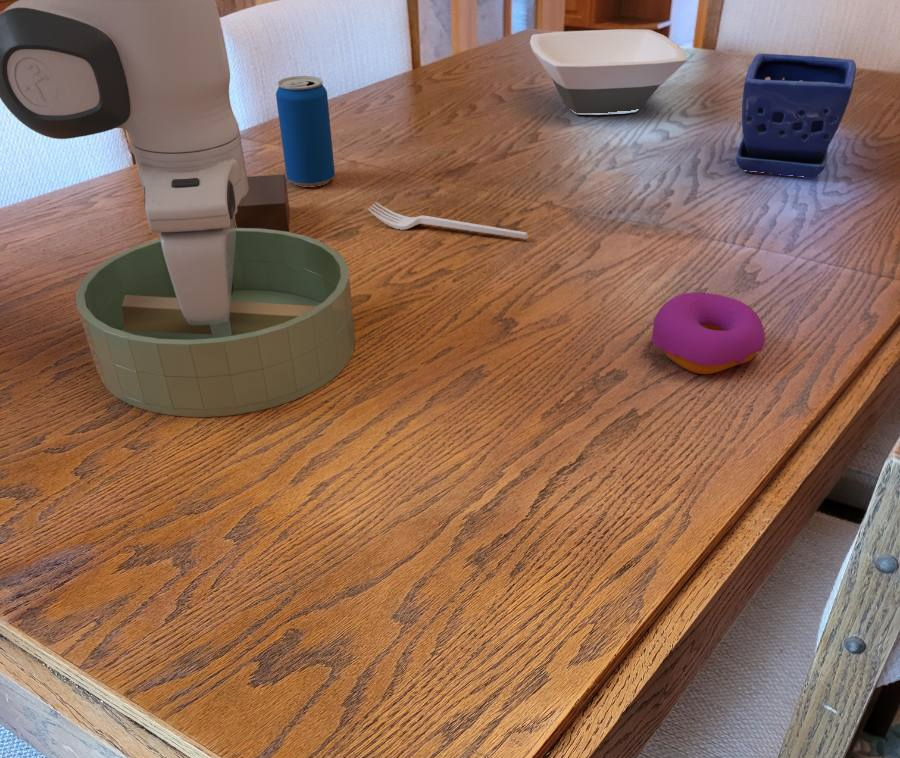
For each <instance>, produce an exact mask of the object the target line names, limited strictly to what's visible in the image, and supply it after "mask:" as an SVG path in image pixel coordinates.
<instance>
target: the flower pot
mask: <svg viewBox="0 0 900 758" xmlns="http://www.w3.org/2000/svg"><path fill="white" fill-rule="evenodd" d="M856 73H857V64H856V62H855V60H853V59H849V58H840V57H829V56H828V57H826V56H816V55H815V56H814V55H797V54H796V55H795V54H775V53H757V54H756V55H755V56H754V58H753V59H752V61H751V63H750V65H749V66H748V70H747V73H746V76H745V80H744V84H743V91H742V102H741V129H742V138H741V141H740V144H739V146H738V149H737V151H736V156H735V162H736V164H737V166H738V167H739V169H740V170H741V169H742V170H741V171H743V170H747V171H757V172H764V173H772V174H779V175H778V176H781V175H793V176H804V177H813V178H815V177H816V176H818V175H819V174H821V173H822V172H823V171H824V169H825V168H826V164H827V159H828V153H829V152H828V151H829V145H830V144H831V142H832V140H833V138H834V137H835V135H836V133H837V131H838V130H839V127H840V125H841V122H842V120H843V117H844V115H845V113H846V110H847V107H848V104H849V102H850V99H851V95H852V93H853V89H854V85H855V84H854V83H855V79H856ZM766 78H769V79H766ZM772 174H771V175H772ZM780 174H781V175H780Z"/></svg>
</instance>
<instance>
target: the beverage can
mask: <svg viewBox="0 0 900 758" xmlns="http://www.w3.org/2000/svg"><path fill="white" fill-rule="evenodd" d="M277 86H278V87H277V90H276V92H275V99H276V106H277V114H278V121H279V129H280V137H281V144H282V153H283V159H284V160H283V161H284V167H285V177H286V179H287V180H288V181H289V182H291V183H292V184H293V183H294V184H296V185H299V186H307V187H310V186H319V185H323V184H326V183H328V182H329V181H330V182H331V180H333V179H334V178H335V176H336V171H335V161H334V150H333V140H332V130H331V120H330V109H329V99H328V91H327V89H326V87H325V86H324V85H323V79H322V78H320V77H317V76H311V75H296V76H290V77H284V78H282V79H280V80H279V81H277ZM330 182H329V183H330ZM329 183H328V184H329ZM294 184H293V185H294ZM296 185H295V186H296ZM326 185H327V184H326Z"/></svg>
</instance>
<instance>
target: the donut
mask: <svg viewBox="0 0 900 758" xmlns="http://www.w3.org/2000/svg"><path fill="white" fill-rule="evenodd" d="M763 325H764V324H763V322H762V320H761V319H760V316H759V315H758V314H757V313H756V311H755V310H754V309H753V308H752V307H750V306H749V305H748V304H746V303H744V302H742V301H740V300H738V299H736V298H733V297H729V296H725V295H721V294H716V293H709V292H694V291H693V292H685V293H681V294H679V295H676V296H674V297H672V298H670V299H669V300H667V301H666V302H665V303H664V304H663V305H662V306H661V307H660V308H659V310H658V312H657V313H656V314H655V317H654V320H653V325H652V332H651V341H652V343H653V345H654V346H655V347H657V348H658V349H660V350H661V352H663V354H664V355H665V356H666V357H667V358H668V359H670V360H671V361H672V362H673V363H675V364H677V365H678V366H680V367H681V368H683V369H685V370H687V371H688V372H691V373H694V374H699V375H711V374H716V373H719V372H722V371H725V370H727V369H730V368H732V367H735V366H739V365H742V364H745V363H748V362H750V361H751V360H753V359H754V358H755V357H756V354H757V353H758V352H762V351H763V348H764V346H765V341H766V340H765V339H766V333H765V328H764V326H763Z"/></svg>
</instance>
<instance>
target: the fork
mask: <svg viewBox="0 0 900 758" xmlns="http://www.w3.org/2000/svg"><path fill="white" fill-rule="evenodd" d="M371 204H372V205H370V206H369V207H367V210H368V211H369V212H370V213H371V214H372V215H373V216H374V217H376V219H377V220H379V221H380V222H382V223H384V224H385V225H387V226H388V227H390V228H393V229H396V230H399V229H400V231H403V230H404V231H405V230H408V229H411V228H413V227H415V226H417V225H419V224H421V225H422V224H423V225H429V226H435V227H436V226H437V227H443V228H449V229H457V230H462V231H463V230H464V231H470V232H478V233H483V234H491V235H497V236H503V237H504V236H505V237H511V238H518V239H525V240H527V239H528V238H529V234H528V232H526V231H519V230H513V229H508V228H501V227H496V226H491V225H484V224H477V223H472V222H466V221H460V220H453V219H447V218H441V217H436V216H429V215H418V216H414V217H413V216H406V215H403V214H400V213H397V212H395V211H393V210H391V209H389V208H387V207H385V206H383V205H382V204H380V203H379V202H377V201H375V202H374V203H371Z"/></svg>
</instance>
